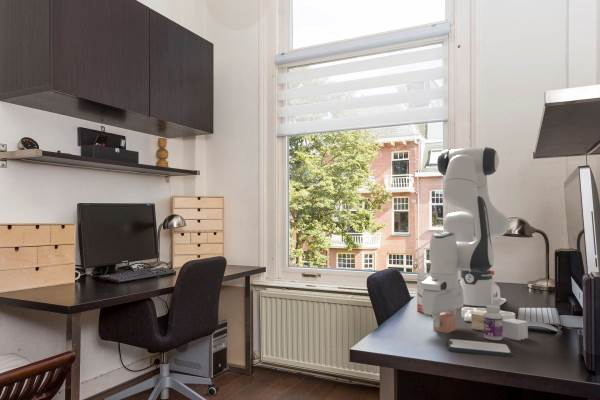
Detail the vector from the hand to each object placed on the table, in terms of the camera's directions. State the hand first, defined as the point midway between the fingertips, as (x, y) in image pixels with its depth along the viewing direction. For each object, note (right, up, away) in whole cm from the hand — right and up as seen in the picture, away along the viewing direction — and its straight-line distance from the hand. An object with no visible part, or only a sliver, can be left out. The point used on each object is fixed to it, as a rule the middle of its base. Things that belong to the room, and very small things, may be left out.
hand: (444, 324), depth 141 cm
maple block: (+13, -2, +2) cm, 13 cm away
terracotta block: (0, -2, 0) cm, 2 cm away
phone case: (+3, -2, -21) cm, 21 cm away
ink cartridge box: (+3, -3, +27) cm, 28 cm away
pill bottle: (+11, -2, -10) cm, 15 cm away
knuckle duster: (+19, -3, +13) cm, 24 cm away
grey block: (+19, -2, -9) cm, 21 cm away
